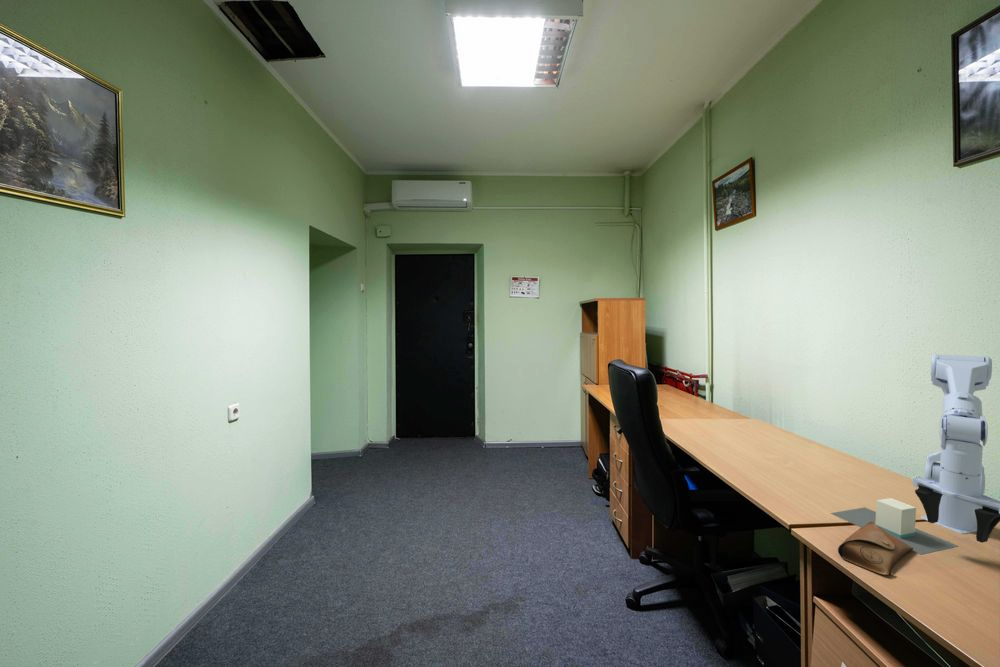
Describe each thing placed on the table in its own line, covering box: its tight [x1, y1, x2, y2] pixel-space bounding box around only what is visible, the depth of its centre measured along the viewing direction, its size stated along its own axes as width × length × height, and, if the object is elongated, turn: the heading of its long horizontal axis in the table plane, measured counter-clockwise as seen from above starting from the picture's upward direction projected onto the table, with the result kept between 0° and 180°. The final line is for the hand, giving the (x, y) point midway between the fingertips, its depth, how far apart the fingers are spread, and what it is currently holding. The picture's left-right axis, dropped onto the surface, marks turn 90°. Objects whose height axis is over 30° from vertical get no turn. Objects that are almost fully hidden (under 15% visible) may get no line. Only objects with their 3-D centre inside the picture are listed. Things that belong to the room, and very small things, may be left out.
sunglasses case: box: [837, 521, 914, 576], centre depth 86 cm, size 18×7×7 cm, turn 121°
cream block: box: [875, 497, 917, 538], centre depth 94 cm, size 5×5×7 cm
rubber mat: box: [830, 506, 959, 556], centre depth 96 cm, size 13×18×1 cm
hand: (956, 531), depth 84 cm, fingers open, 7 cm apart
